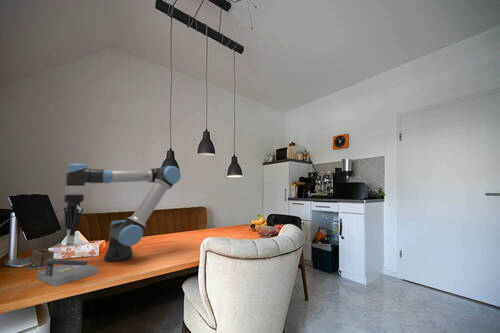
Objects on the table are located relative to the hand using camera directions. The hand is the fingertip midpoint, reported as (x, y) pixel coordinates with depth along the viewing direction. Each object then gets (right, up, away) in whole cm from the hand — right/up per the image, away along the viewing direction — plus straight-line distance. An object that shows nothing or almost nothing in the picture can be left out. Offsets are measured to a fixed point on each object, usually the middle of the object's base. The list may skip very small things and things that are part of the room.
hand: (70, 242), depth 106 cm
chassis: (0, -16, -2) cm, 16 cm away
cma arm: (+5, -7, -8) cm, 12 cm away
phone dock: (-26, -17, +12) cm, 33 cm away
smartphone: (-26, -17, +12) cm, 34 cm away
